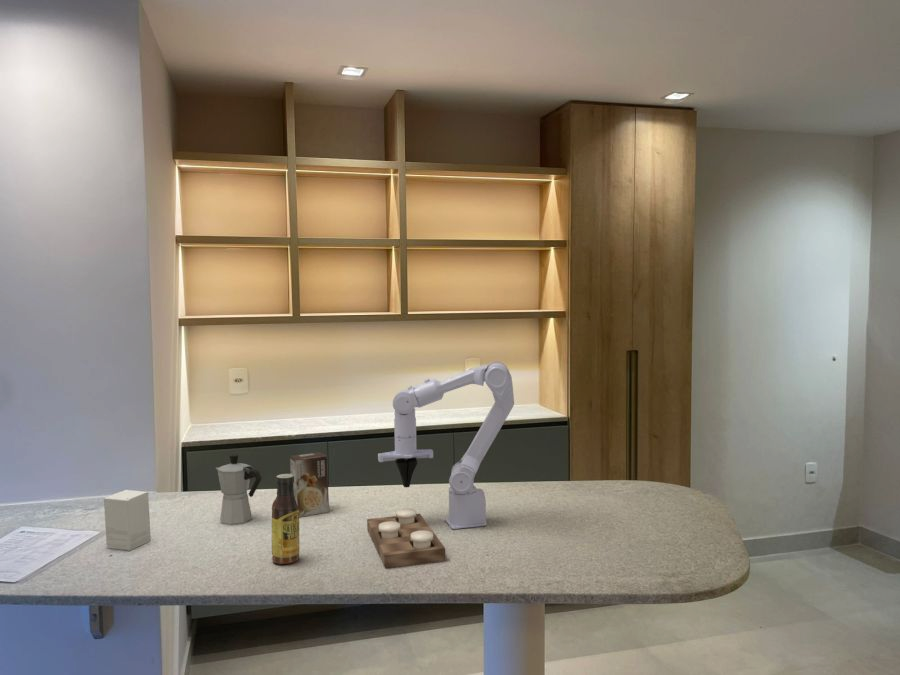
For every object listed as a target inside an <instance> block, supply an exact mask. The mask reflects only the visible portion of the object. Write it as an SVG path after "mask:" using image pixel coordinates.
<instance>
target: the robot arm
mask: <svg viewBox="0 0 900 675" xmlns="http://www.w3.org/2000/svg"><path fill="white" fill-rule="evenodd" d="M473 384H474V385H477V386H483V387H484V384H486V386H487V387H488V388H489V390H490V391H491V394H492V397H493V399H494V404H493V405H492V407H491V409H489V412H488V414H487V415H486V417H485V419H484V420H483V422H482V424H481V426H480V427H479V429H478V431H477V433H476V434H475V436H474V438H473V440H472V441H471V443H470V445H469V447H468V449H467V450H466V452H465V453H464V454H463V456H462V457H461V458H460V460H459V461H457V462H456V463H455V464H453V466H451V467H452V468H451V471H450V472H451V474H450V476H449V479H448V484H449V488H448V517H444V521H445V522H446V523H447V524H448V526H449V527H450V528H451V529H453V530H457V529H466V528H467V529H468V528H474V527H475V528H476V527H485V526H487V525H488V524H487V505H486V504H487V501H486V495H485V491H484V490H483V489H482V488H477V487H476V486H475V485H474V480H475V477H476V475H477V472H478V470H479V468H480V465H481V463H482V461H483V459H484V457H485V456H486V454H487V452H489V449H490V447H491V445H492V444H493V442H494V441H495V439H496V437H497V435H498V434H499V432H500V430H501V429H502V426H503V425H504V423H505V422H506V420H507V418H508V417H509V415H510V412H512V409H513V408H514V406H515V397H514V386H513V385H514V384H513V380H512V375H511V373H510V370H509V368H508V366H507V365H506V364H505V363H503V362H501V361H493V362H491V363H489V364H488V363H486V364H482V365H478V366H475V367H473V368H469V369H468V370H465V371H462V372H461V373H458V374H456V375H454V376H453V375H452V376H451V377H449V378H448V377H447V378H446V379H443V380H441V381H439V380H437V379H435V378H433V379H430V378H427V379H424V382H423V383H422V382H421V383H420V384H416V385H414V386H412V385H409V386H408V387H407V389H402V390H400V391H398V392H397V393H396V394H395V396H394V397H393V399H392V407H393V409H394V422H393V423H394V430H393V431H394V450H393V451H392V450H391V451H388V452H387V451H386V452H382V453H381V452H380V453H378V454H377V460H378V462H379V463H384V462H392V461H394V463H395V464H396V466H397V469H398V471H399V474H400V477H401V482H402V486H403V488H411V480H412V477H413V473H414V472H415V470H416V467H418V466H417V465H418V460H417V459H427V458H428V459H434V450H433V449H431V448H430V449H429V448H428V449H417V419H416V408H422V407H424V406H427V405H430V404H432V403H436V402H437V401H438V402H439V401H441V400H442V399H443V397H444V395H445V394H446V393H448V392H451V391H455V390H457V389H461V388H463V387H466V386H468V385H473Z"/></svg>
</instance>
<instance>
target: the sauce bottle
mask: <svg viewBox="0 0 900 675" xmlns="http://www.w3.org/2000/svg"><path fill="white" fill-rule="evenodd" d="M275 482H276V498H275V499H274V501H273V502H272V506H271V555H272V557H271V559H272V562H273V563H275V564H276V565H289V564H292V563H295V562H297V561H298V560H299V558H300V517H299V508H298V506H297V503H296V500H295V496H294V491H293V483H294V475H293V474H291V473H281V474H278V475H276V476H275Z"/></svg>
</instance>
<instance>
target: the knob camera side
mask: <svg viewBox="0 0 900 675" xmlns="http://www.w3.org/2000/svg"><path fill="white" fill-rule="evenodd" d="M432 540H433V533H432V532H430V531H415V532H413V533H411V541H413V549H420V548H429V547H431V541H432Z"/></svg>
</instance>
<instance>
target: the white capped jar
mask: <svg viewBox="0 0 900 675" xmlns="http://www.w3.org/2000/svg"><path fill="white" fill-rule="evenodd" d="M417 514H418V513H417V510H416V509H415V508H412V507H410V508H408V507H404V508H400V509H399V508H398V509H397V510H396V511H395V516H396V517H398V518H399V523H400V524H409V523H414V517H416V515H417Z"/></svg>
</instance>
